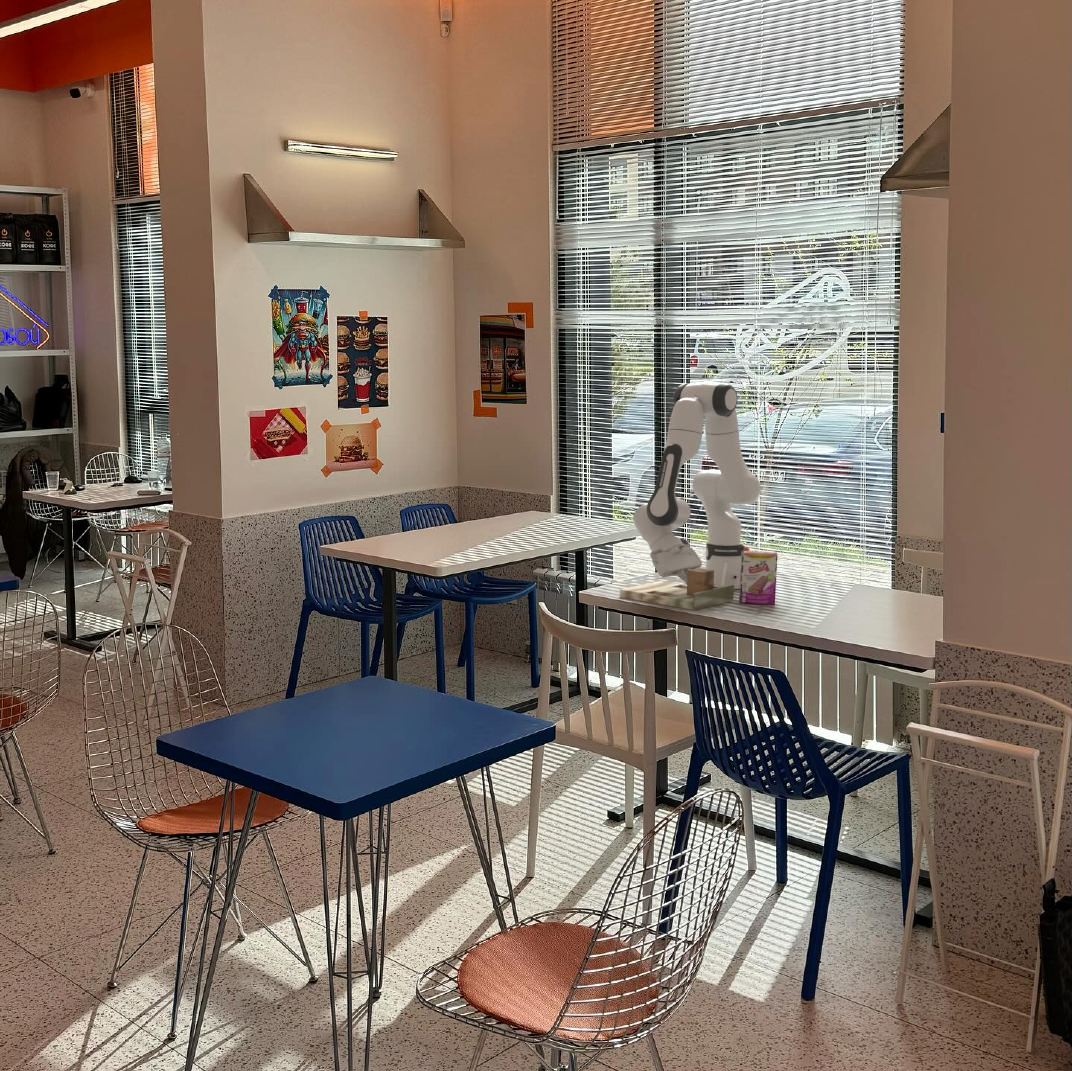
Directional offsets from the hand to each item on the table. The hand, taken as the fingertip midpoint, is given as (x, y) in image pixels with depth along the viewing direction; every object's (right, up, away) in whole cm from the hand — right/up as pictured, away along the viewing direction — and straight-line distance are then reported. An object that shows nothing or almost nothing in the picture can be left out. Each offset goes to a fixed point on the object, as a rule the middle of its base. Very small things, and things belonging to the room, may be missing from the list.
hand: (691, 582), depth 396 cm
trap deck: (-4, -5, +4) cm, 8 cm away
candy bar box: (+21, -7, -1) cm, 22 cm away
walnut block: (+3, -4, -2) cm, 5 cm away
